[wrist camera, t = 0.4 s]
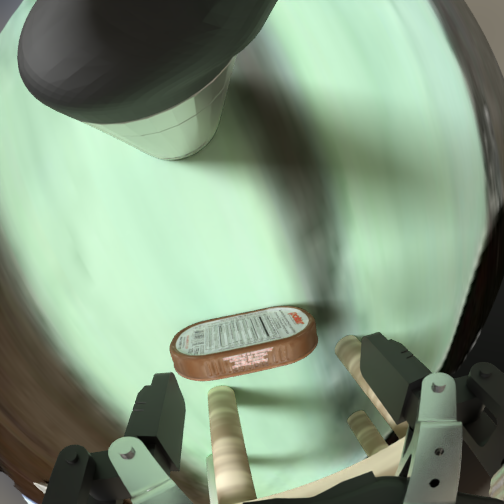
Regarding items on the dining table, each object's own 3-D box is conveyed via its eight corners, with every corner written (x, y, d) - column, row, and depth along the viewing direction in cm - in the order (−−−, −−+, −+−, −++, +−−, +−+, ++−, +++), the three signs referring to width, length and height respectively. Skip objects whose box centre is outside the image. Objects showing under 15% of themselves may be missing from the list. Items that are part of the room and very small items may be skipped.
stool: (191, 386, 32) (197, 536, 12) (363, 320, 34) (469, 421, 13) (249, 466, 38) (273, 558, 18) (370, 418, 40) (425, 495, 20)
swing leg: (234, 421, 34) (254, 522, 18) (256, 425, 35) (283, 520, 19) (203, 461, 36) (211, 544, 20) (222, 465, 37) (235, 544, 20)
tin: (177, 344, 30) (172, 392, 22) (170, 321, 29) (161, 366, 21) (302, 317, 32) (330, 357, 24) (300, 294, 31) (330, 330, 23)
